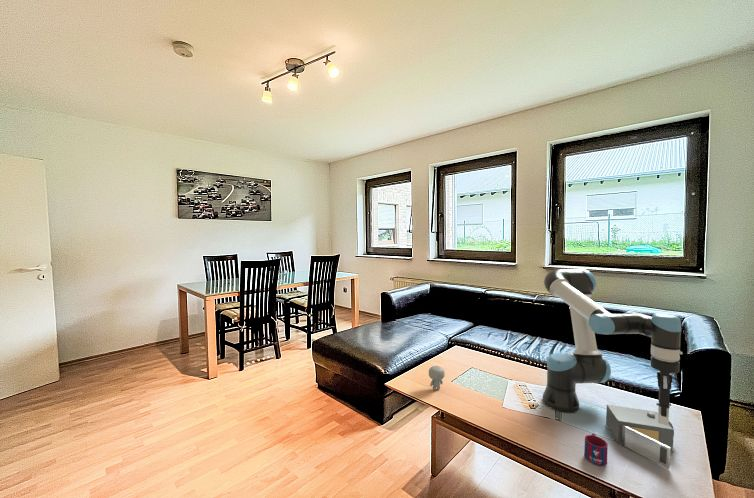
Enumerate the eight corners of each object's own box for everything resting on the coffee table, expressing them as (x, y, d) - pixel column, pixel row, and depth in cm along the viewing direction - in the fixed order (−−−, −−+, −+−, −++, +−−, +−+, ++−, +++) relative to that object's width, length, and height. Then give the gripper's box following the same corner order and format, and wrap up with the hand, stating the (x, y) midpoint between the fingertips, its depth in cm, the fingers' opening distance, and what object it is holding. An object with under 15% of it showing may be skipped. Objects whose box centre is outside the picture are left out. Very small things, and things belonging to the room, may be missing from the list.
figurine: (439, 385, 166) (439, 363, 166) (446, 391, 159) (447, 369, 158) (426, 387, 164) (426, 365, 163) (433, 394, 156) (433, 371, 156)
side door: (620, 444, 118) (621, 425, 118) (622, 443, 119) (623, 424, 118) (667, 469, 105) (668, 448, 105) (669, 468, 106) (670, 447, 106)
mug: (584, 460, 111) (584, 442, 110) (584, 445, 119) (585, 428, 118) (607, 469, 107) (608, 450, 106) (606, 452, 115) (606, 434, 115)
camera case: (617, 443, 119) (618, 418, 119) (606, 424, 131) (606, 402, 130) (681, 455, 113) (682, 428, 113) (663, 434, 125) (664, 410, 124)
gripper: (681, 367, 102) (679, 436, 103) (678, 355, 112) (676, 419, 113) (651, 361, 107) (649, 427, 108) (650, 350, 117) (649, 411, 118)
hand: (663, 423), depth 110 cm, fingers closed
